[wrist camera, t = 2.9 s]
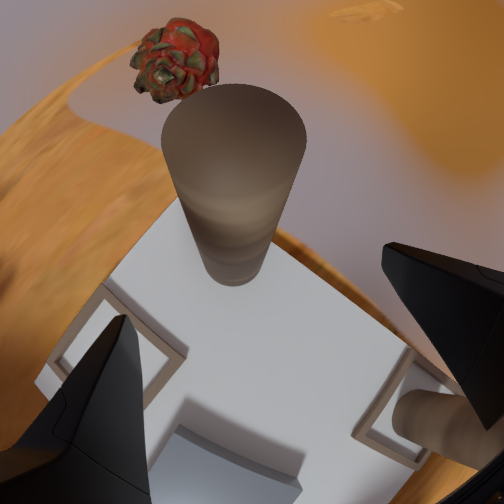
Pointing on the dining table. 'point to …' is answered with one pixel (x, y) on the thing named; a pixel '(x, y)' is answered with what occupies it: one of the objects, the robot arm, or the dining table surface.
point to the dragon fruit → (176, 61)
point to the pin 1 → (233, 172)
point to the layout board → (260, 366)
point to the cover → (214, 475)
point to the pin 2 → (447, 427)
